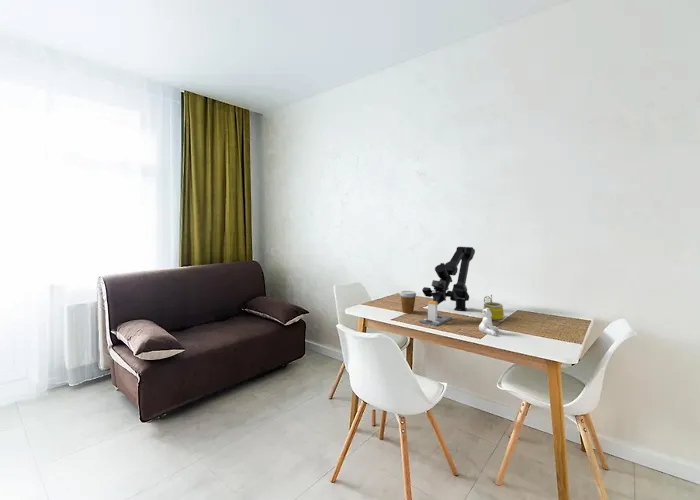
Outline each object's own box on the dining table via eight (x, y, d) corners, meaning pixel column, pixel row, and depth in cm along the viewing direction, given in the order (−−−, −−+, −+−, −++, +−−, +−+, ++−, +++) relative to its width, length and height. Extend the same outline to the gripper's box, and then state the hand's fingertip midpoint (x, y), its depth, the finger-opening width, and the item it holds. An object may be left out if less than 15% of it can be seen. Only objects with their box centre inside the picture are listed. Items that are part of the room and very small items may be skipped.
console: (435, 315, 195) (435, 312, 195) (452, 318, 188) (452, 315, 188) (419, 322, 182) (419, 318, 182) (436, 326, 175) (436, 322, 175)
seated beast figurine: (495, 336, 159) (496, 311, 158) (476, 333, 164) (477, 309, 163) (499, 331, 167) (499, 307, 166) (480, 328, 172) (481, 305, 171)
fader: (429, 318, 184) (429, 300, 184) (437, 320, 181) (437, 301, 180) (427, 319, 183) (427, 301, 182) (435, 321, 180) (435, 302, 179)
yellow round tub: (505, 321, 183) (506, 299, 182) (484, 320, 185) (485, 298, 184) (500, 314, 196) (501, 294, 195) (480, 314, 198) (480, 293, 197)
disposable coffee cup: (415, 310, 207) (415, 290, 206) (416, 314, 197) (417, 294, 196) (399, 309, 208) (399, 290, 207) (400, 314, 198) (400, 293, 197)
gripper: (424, 272, 191) (413, 295, 184) (455, 276, 179) (445, 300, 171) (430, 284, 198) (420, 306, 190) (461, 289, 185) (451, 312, 178)
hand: (433, 306), depth 182 cm, fingers closed, pressing on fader
